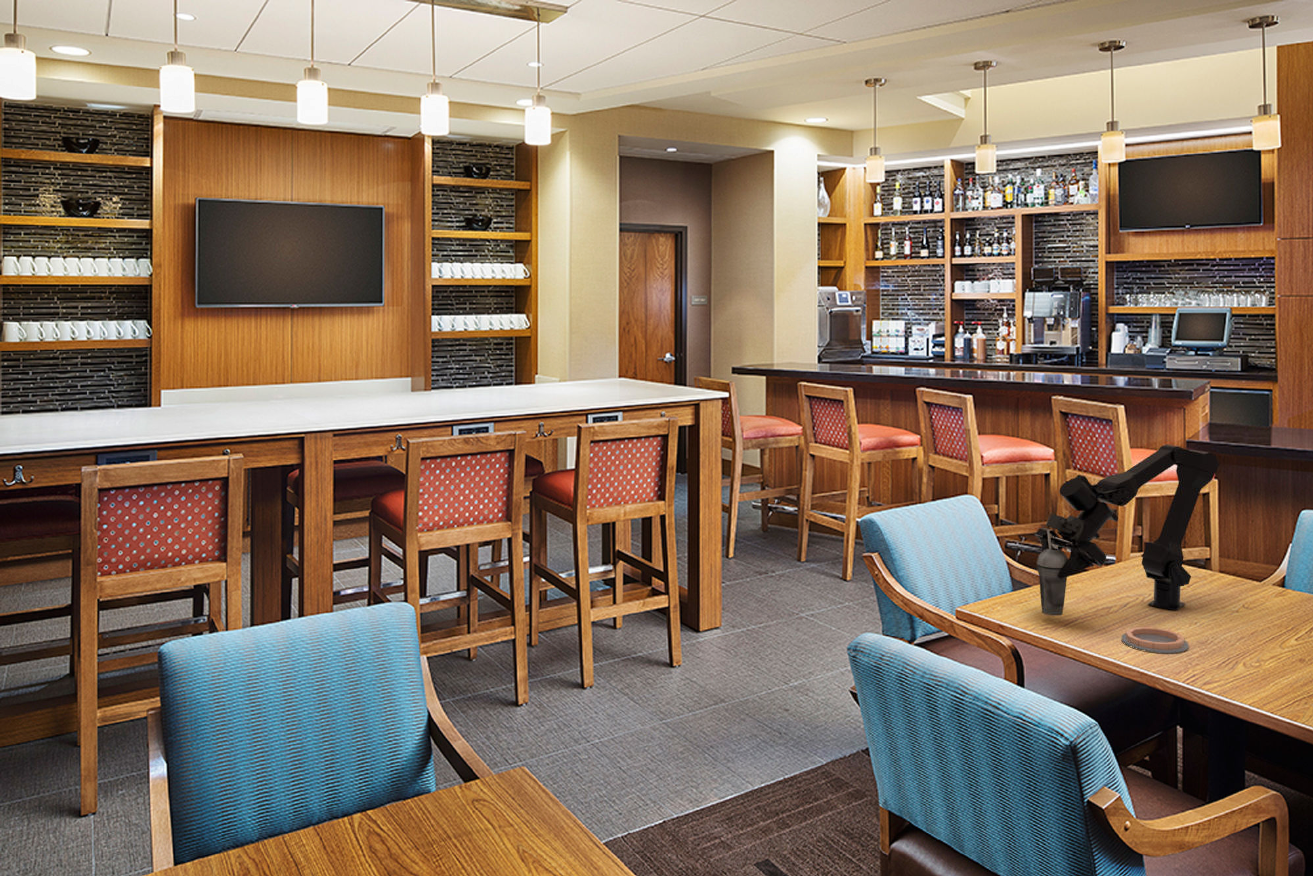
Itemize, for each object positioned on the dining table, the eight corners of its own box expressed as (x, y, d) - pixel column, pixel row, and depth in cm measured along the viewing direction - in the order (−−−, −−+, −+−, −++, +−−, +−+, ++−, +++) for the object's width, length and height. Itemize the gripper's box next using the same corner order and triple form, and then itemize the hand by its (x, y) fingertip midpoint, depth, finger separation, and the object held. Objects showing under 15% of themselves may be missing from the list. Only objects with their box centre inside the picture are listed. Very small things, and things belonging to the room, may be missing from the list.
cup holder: (1133, 629, 216) (1134, 622, 216) (1196, 642, 207) (1197, 634, 207) (1112, 644, 207) (1112, 636, 207) (1176, 658, 198) (1177, 650, 198)
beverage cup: (1072, 618, 220) (1073, 533, 217) (1038, 617, 221) (1040, 533, 219) (1065, 608, 227) (1067, 526, 224) (1033, 607, 228) (1034, 526, 226)
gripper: (1042, 494, 231) (1002, 543, 229) (1096, 509, 213) (1054, 562, 211) (1069, 523, 234) (1030, 571, 232) (1125, 539, 216) (1083, 592, 214)
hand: (1048, 573), depth 222 cm, fingers closed on beverage cup, 7 cm apart
